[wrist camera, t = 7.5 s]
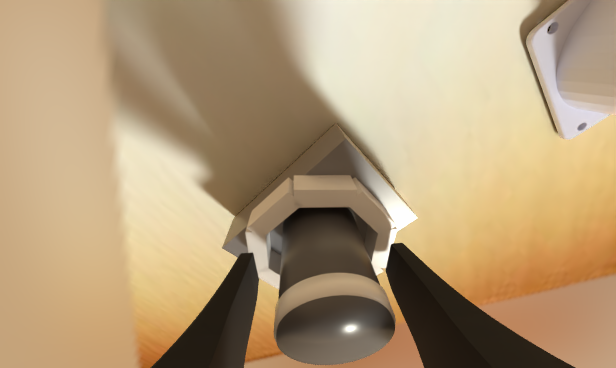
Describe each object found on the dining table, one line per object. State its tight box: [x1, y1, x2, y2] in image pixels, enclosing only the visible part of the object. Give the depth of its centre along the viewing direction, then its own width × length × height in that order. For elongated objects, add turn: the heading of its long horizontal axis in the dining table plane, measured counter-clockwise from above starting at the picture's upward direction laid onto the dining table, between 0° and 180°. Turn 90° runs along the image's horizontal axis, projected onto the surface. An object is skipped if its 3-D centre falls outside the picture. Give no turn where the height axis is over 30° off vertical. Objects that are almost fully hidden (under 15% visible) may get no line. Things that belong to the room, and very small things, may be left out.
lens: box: [274, 207, 396, 365], centre depth 11 cm, size 5×5×6 cm
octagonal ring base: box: [222, 123, 418, 289], centre depth 14 cm, size 10×8×4 cm
